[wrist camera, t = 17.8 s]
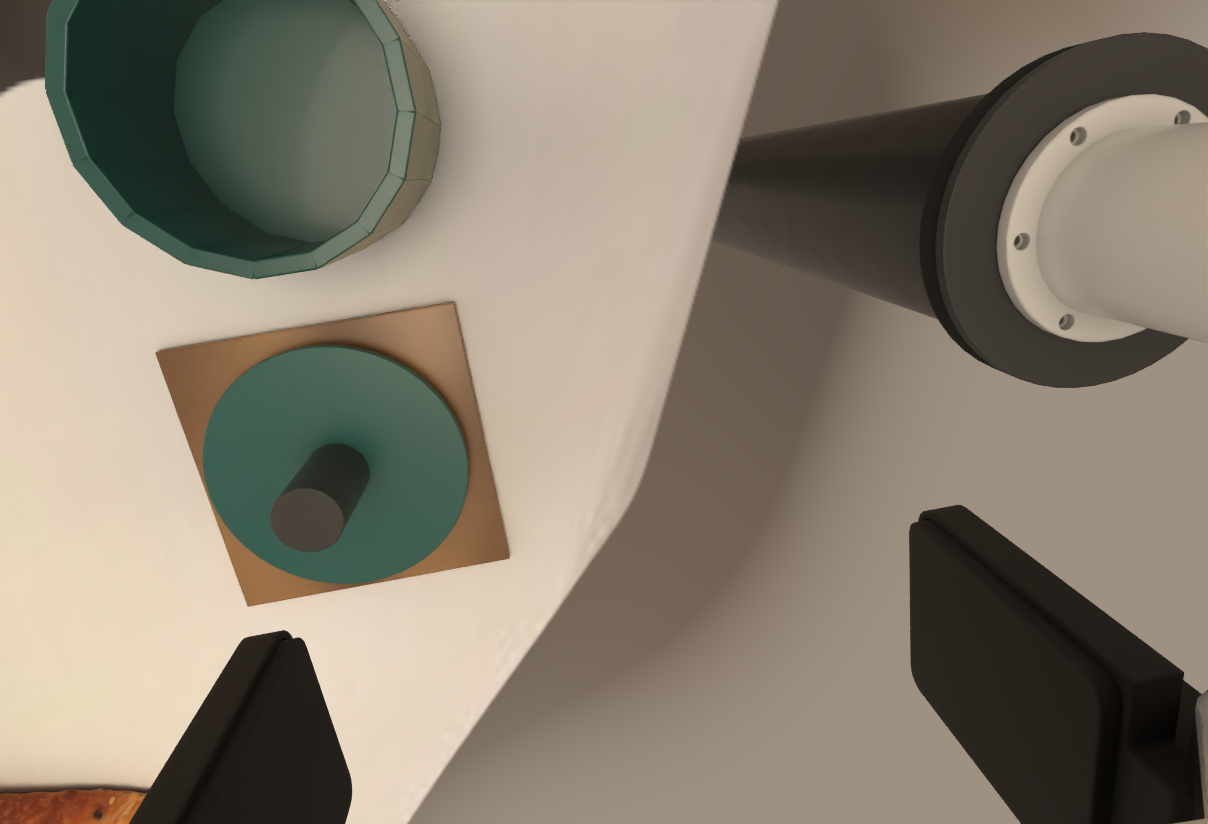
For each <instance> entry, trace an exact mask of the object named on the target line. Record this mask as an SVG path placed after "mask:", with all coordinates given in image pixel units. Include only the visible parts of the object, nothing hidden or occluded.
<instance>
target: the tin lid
mask: <svg viewBox="0 0 1208 824" xmlns="http://www.w3.org/2000/svg"><path fill="white" fill-rule="evenodd" d="M202 464H203V472H204V479H205V483H206V486H207V490H208V493H209V496H210V498H211V501H212V503H213V505H214V507H215V510H216V511H217V513H218V514H219V516H220V518H221V519H222V521H223V523H224V524H225V525H226V527H227V528H228V529H229V530H230V532H231V533H232V534H233V535H234V536H235V537H236V538H237V539H238V540H239V541H240V542H241V543H242V544H243V545H244V546H245V547H246V548H247V549H248V550H250V551H251V552H252V553H254V554H255V555H256V556H257V557H259V558H260V559H262V560H264V561H265V562H267V563H269V564H270V565H272V566H274V567H276V568H278V569H280V570H282V571H284V572H287V573H289V574H292V575H295V576H298V577H301V578H304V579H308V580H313V581H317V582H323V583H333V584H357V583H365V582H372V581H376V580H380V579H384V578H388V577H390V576H393V575H396V574H398V573H401V572H403V571H405V570H407V569H409V568H411V567H412V566H414V565H416V564H417V563H419V562H420V561H422V560H423V559H425V558H426V557H428V556H429V555H430V554H431V553H432V552H433V551H434V550H435V549H436V548H438V547H439V546H440V544H441V543H442V542H443V541H444V540H445V538H446V537H447V536H448V535H449V533H450V532H451V530H452V529H453V527H454V525H455V524H456V522H457V520H458V518H459V515H460V513H461V511H462V509H463V505H464V501H465V498H466V494H467V488H468V481H469V459H468V452H467V446H466V443H465V439H464V436H463V433H462V430H461V428H460V426H459V424H458V421H457V419H456V417H455V415H454V414H453V412H452V411H451V409H450V407H449V406H448V404H447V403H446V401H445V400H444V399H443V398H442V397H441V395H440V394H439V393H438V392H437V391H436V389H434V388H433V387H432V386H431V385H430V384H429V383H428V382H427V381H426V380H425V379H424V378H423V377H421V376H420V375H418V374H417V373H416V372H414V371H413V370H412V369H410V368H409V367H407V366H405V365H403V364H402V363H400V362H398V361H396V360H394V359H392V358H390V357H387V356H385V355H382V354H380V353H378V352H374V351H371V350H367V349H363V348H360V347H354V346H347V345H335V344H320V345H310V346H303V347H299V348H294V349H290V350H286V351H284V352H281V353H279V354H276V355H273V356H271V357H269V358H267V359H265V360H264V361H262V362H260V363H258V364H256V365H255V366H253V367H252V368H251V369H249V370H248V371H247V372H245V373H244V374H243V375H241V376H240V377H239V378H238V379H237V380H236V381H235V382H234V383H233V384H232V385H231V386H230V387H229V388H228V389H227V390H226V391H225V393H224V394H223V396H222V397H221V398H220V400H219V401H218V403H217V405H216V406H215V408H214V410H213V412H212V414H211V416H210V419H209V422H208V425H207V428H206V431H205V436H204V442H203V457H202Z"/></svg>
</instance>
